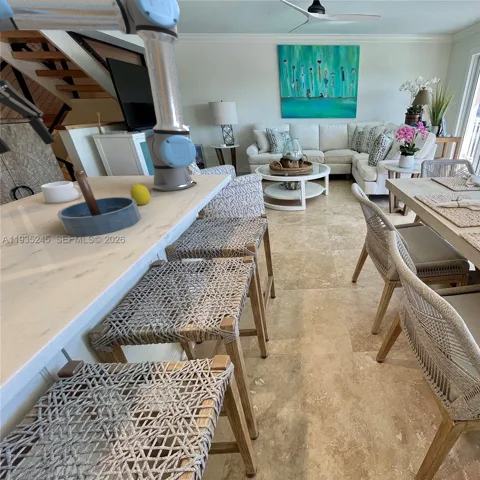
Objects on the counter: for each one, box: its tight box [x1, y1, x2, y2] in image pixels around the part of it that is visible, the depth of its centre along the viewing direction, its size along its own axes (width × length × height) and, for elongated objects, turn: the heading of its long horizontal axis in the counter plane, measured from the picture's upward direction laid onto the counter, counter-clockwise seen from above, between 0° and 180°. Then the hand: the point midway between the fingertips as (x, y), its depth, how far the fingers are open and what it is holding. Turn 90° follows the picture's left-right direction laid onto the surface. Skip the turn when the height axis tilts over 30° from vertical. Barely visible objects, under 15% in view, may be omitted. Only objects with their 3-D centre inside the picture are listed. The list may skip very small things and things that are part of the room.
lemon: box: [129, 183, 151, 206], centre depth 91 cm, size 6×6×8 cm
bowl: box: [56, 196, 142, 237], centre depth 76 cm, size 18×18×6 cm
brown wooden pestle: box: [73, 169, 101, 216], centre depth 74 cm, size 6×6×15 cm
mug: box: [40, 180, 83, 204], centre depth 98 cm, size 12×10×6 cm
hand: (30, 147), depth 71 cm, fingers open, 13 cm apart
